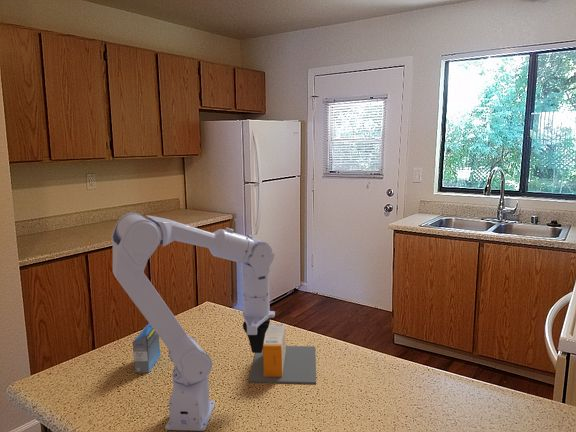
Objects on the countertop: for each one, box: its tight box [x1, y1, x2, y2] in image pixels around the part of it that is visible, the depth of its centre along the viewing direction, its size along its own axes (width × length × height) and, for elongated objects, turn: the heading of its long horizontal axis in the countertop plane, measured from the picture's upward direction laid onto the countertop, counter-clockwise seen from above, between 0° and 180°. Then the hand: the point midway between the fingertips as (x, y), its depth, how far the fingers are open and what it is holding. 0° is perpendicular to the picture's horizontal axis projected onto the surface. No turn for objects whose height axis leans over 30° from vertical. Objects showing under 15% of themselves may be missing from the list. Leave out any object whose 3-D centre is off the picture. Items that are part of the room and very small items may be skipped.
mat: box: [248, 345, 317, 385], centre depth 110 cm, size 18×16×1 cm
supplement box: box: [263, 322, 287, 377], centre depth 109 cm, size 8×5×13 cm
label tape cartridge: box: [132, 322, 161, 374], centre depth 110 cm, size 9×4×12 cm, turn 179°
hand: (257, 351), depth 96 cm, fingers closed
